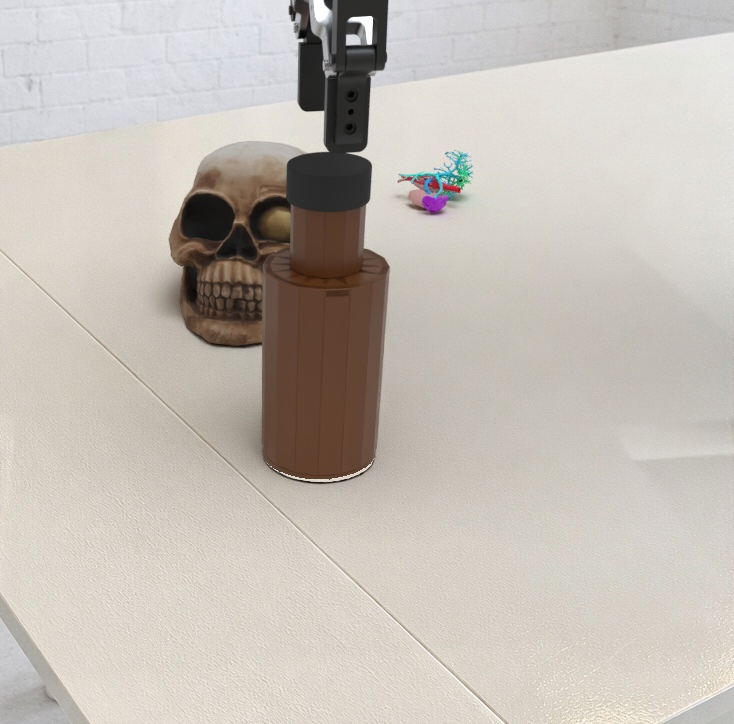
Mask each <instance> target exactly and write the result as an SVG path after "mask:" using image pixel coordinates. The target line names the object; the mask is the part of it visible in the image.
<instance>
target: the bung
mask: <svg viewBox="0 0 734 724" xmlns="http://www.w3.org/2000/svg"><path fill="white" fill-rule="evenodd" d="M306 153H307V154H303V155H299V156H296V157H294V158H292V159H290V160H289V161H288V163H287V176H286V199H287V201H288V202H289V203H290V204H292V205H293V206H296V207H298V208H301V209H305V210H310V211H318V212H342V211H349V210H353V209H357V208H360V207H363V206H364V205H366V206H367V204H369V202H370V201H371V193H372V176H373V164H372V162H371V161H370V160H369V159H368V158H366V157H363V156H361V155H358V154H353V153H331V152H329V151H315V152H306Z"/></svg>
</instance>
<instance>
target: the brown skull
mask: <svg viewBox="0 0 734 724" xmlns="http://www.w3.org/2000/svg"><path fill="white" fill-rule="evenodd" d="M307 153H308V152H307V151H305V150H303V149H301V148H300V147H296V146H293V145H290V144H287V143H283V142H277V141H275V142H274V141H264V140H245V141H237V142H234V143H229V144H227V145H224V146H221V147H219V148H218V149H216V150H214V151H212V152H211V153H209V154H207V155H206V156H204V157H203V159H202V160H201V161H200V163H199V165H198V166H197V169H196V174H195V177H194V180H193V184H192V187H191V189H190V190H189V191H188V193H187V194H186V195H185V197H184V198H183V201H182V204H181V206H180V208H179V213H177V215H176V218H175V219H174V221H173V224H172V227H171V229H170V233H169V236H168V244H169V250H170V257H171V259H172V261H173V262H174V264H177V265H178V266H180V267H182V275H181V279H180V280H181V284H180V285H181V286H180V294H179V295H180V296H179V304H180V308H181V313H182V317H183V318H184V322H185V326H186V328H187V329H189V330H190V331H191V332H192V333H195V334H197V335H199V336H201V337H202V338H203V340H205V341H207V342H208V343H210V344H214V345H225V346H232V347H234V346H246V345H247V346H248V345H251V344H259V343H260V344H262V288H263V263H264V262H265V260H266V259H267V257H268V256H269V255H270V254H272V253H275V252H277V251H279V250H281V249H283V248H287V247H290V224H291V204H290V203H289V202H288V201H287V199H286V176H287V163H288V161H289V160H290V159H292V158H294V157H296V156H299V155H303V154H307Z"/></svg>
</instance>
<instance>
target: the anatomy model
mask: <svg viewBox="0 0 734 724" xmlns="http://www.w3.org/2000/svg"><path fill="white" fill-rule="evenodd" d="M455 152H457V153H455ZM449 154H451V155H450V156H449ZM468 154H469V153H468V152H466V153H464V152H461V151H460V150H457V149H455V150H453V151H450V152H449V151H446V152H444V156H446V158H448V160H451V161H452V162H453V163H454V165H455V167H454V168H452V166H453V163H452V162H450V165H449V166H448V165H446V161H443V166H444V167H445V169H447V170H445V169H442V167H441V166H440V168H436V167H434V168H433V171H437V172H436V173H435V172H424V171H419V172H418V173H413V174H411V173H410V174H404V173H398V176H399V177H400V179H397V184H398V183H401V182H410V183H411V184H412V185H414V187H416V188H417V189H413V190H411V191H409V192H408V194H407V195H408V199H409V201H410V202H411V203H412V204H414V205H416V206H417V207H419V208H422V209H425V210H427V211H428V212H429V213H432V214H434V213H437V212H439V211H441V210H442V209H444V208H445V207H446V205H447V202H448V199H455V197H453V195H455V196H457V197H460V195H459V194H460V193H462V192H461V191H463V190H464V187H465V184H470V185H471V184H472V183H471V182H472V181H471V180H470V179H469V178H471V179H472V180H473V178H474V177H473V176H472V175H474V171H472V170H471V169H472V168H473V167H474V165H473V163H471V164H468V163H467V162H472V161H473V159H470V160H468V158H471V156H470V155H468ZM454 156H455V157H454ZM451 168H452V170H451ZM440 171H441V172H440ZM455 171H456V174H454V173H455ZM443 179H444V180H443Z"/></svg>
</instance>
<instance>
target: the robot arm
mask: <svg viewBox="0 0 734 724" xmlns="http://www.w3.org/2000/svg"><path fill="white" fill-rule="evenodd" d="M288 16H290V21H291V22H292V23H293V24H292V32H293V33H294V35H295V39H296V40H302V41H298V43H297V47H298V49H297V96H296V97H297V98H296V99H297V100H296V101H297V105H298V107H299V108H300V110H302V111H303V112H305V113H310V112H311V113H312V112H323V140H322V141H323V145H324V147H325V148H326V150H327V152H331V153H349V154H353V153H361V152H363V151H365V149H366V148H367V146H368V144H369V143H368V142H369V124H370V122H369V121H370V107H371V106H370V105H371V88H372V87H371V86H372V85H371V84H372V77H375V76H376V74H377V72H378V71H379V72H383V71H385V69H386V68H385V67H386V63H388V52H387V42H388V41H387V40H388V21H389V0H289V5H288ZM354 35H355V36H357V37H358V38H359V40H360V44H347V36H354Z"/></svg>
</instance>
